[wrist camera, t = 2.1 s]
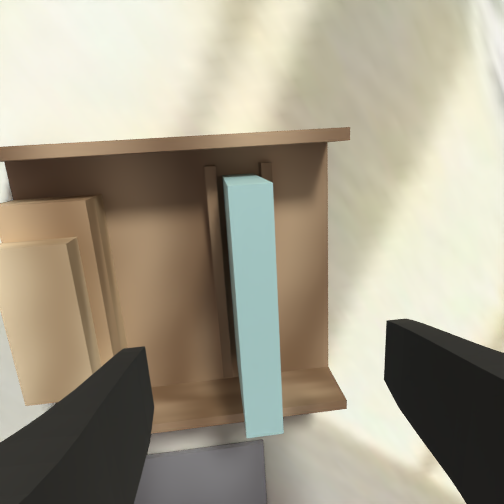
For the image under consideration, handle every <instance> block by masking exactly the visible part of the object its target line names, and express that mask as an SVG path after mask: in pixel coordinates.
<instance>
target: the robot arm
mask: <svg viewBox="0 0 504 504" xmlns="http://www.w3.org/2000/svg"><path fill="white" fill-rule="evenodd" d="M384 380H385V382H386V384H387V386H388V388H389V390H390V392H391V394H392V396H393V398H394V399H395V401H396V403H397V405H398V407H399V408H400V410H401V411H402V413H403V414H404V416H405V417H406V418H407V420H408V421H409V423H410V424H411V425H412V427H413V428H414V430H415V431H416V432H417V434H418V435H419V437H420V438H421V439H422V441H423V442H424V443H425V445H426V446H427V447H428V449H429V450H430V452H431V453H432V454H433V456H434V457H435V458H436V460H437V461H438V462H439V464H440V465H441V467H442V468H443V469H444V471H445V472H446V473H447V475H448V476H449V478H450V479H451V481H452V482H453V483H454V485H455V486H456V488H457V489H458V491H459V492H460V494H461V495H462V497H463V499H464V500H465V502H466V504H504V353H502V352H499V351H496V350H493V349H490V348H487V347H485V346H482V345H479V344H476V343H474V342H471V341H468V340H466V339H463V338H460V337H458V336H455V335H452V334H450V333H447V332H445V331H442V330H439V329H437V328H434V327H431V326H428V325H426V324H423V323H420V322H417V321H413V320H410V319H398V320H389V321H387V325H386V347H385V370H384ZM153 415H154V401H153V395H152V388H151V382H150V375H149V369H148V362H147V356H146V349H145V346H142V347H133V348H123V349H122V350H121V351H119V352H118V353H117V354H116V355H114V356H113V357H112V358H111V359H110V360H109V361H107V362H106V363H105V364H104V365H103V366H102V367H100V368H99V369H98V370H97V371H96V372H95V373H94V374H92V375H91V376H90V377H89V378H88V379H86V380H85V381H84V382H83V383H82V384H81V385H79V386H78V387H77V388H76V389H75V390H73V391H72V392H71V393H69V394H68V395H67V396H66V397H64V398H63V399H62V400H60V401H59V402H58V403H57V404H55V405H54V406H53V407H52V408H50V409H49V410H48V411H46V412H45V413H44V414H42V415H41V416H40V417H38V418H37V419H35V420H34V421H32V422H31V423H30V424H28V425H27V426H25V427H24V428H22V429H21V430H19V431H18V432H16V433H14V434H13V435H11V436H10V437H8V438H7V439H5V440H4V441H2V442H1V443H0V504H134V501H135V498H136V494H137V490H138V486H139V482H140V479H141V475H142V471H143V467H144V463H145V459H146V455H147V451H148V447H149V443H150V438H151V431H152V423H153Z"/></svg>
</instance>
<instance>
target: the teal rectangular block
mask: <svg viewBox="0 0 504 504" xmlns="http://www.w3.org/2000/svg"><path fill="white" fill-rule="evenodd" d="M222 180H223V193H224V205H225V218H226V231H227V243H228V256H229V269H230V281H231V294H232V307H233V319H234V332H235V344H236V357H237V365H238V373H239V381H240V389H241V397H242V405H243V413H244V421H245V429H246V437H247V438H253V437H261V436H268V435H276V434H283V433H284V431H283V408H282V385H281V361H280V338H279V314H278V291H277V268H276V244H275V221H274V198H273V183H272V182H270V181H268V180H266V179H264V178H262V177H259V176H257V175H255V174H253V173H250V174H235V175H222Z"/></svg>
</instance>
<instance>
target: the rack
mask: <svg viewBox="0 0 504 504" xmlns="http://www.w3.org/2000/svg"><path fill="white" fill-rule="evenodd" d="M345 140H350V127H344V128H327V129H309V130H291V131H273V132H256V133H238V134H220V135H203V136H185V137H167V138H149V139H132V140H114V141H96V142H79V143H61V144H43V145H25V146H8V147H0V162H5V167H6V171H7V175H8V179H9V184H10V188H11V192H12V197H13V200H12V201H8V202H4V203H0V238H1V242H2V243H1V244H0V311H1V315H2V318H3V322H4V326H5V330H6V334H7V337H8V341H9V345H10V349H11V352H12V356H13V360H14V364H15V368H16V371H17V375H18V379H19V383H20V386H21V390H22V394H23V398H24V402H25V405H26V406H29V405H38V404H46V403H55V402H57V403H58V402H59V401H60V400H62V399H63V398H64V397H66V396H67V395H68V394H69V393H71V392H72V391H73V390H75V389H76V388H77V387H78V386H79V385H81V384H82V383H83V382H84V381H85V380H86V379H88V378H89V377H90V376H91V375H92V374H94V373H95V372H96V371H97V370H98V369H99V368H100V367H102V366H103V365H104V364H105V363H106V362H107V361H109V360H110V359H111V358H112V357H113V356H114V355H116V354H117V353H118V352H119V351H121V350H122V349H123V348H133V347H142V346H145V349H146V356H147V362H148V369H149V375H150V382H151V388H152V395H153V401H154V415H153V423H152V431H151V434H152V433H160V432H168V431H175V430H183V429H191V428H199V427H207V426H215V425H222V424H230V423H238V422H245V421H244V413H243V405H242V397H241V389H240V381H239V373H238V365H237V357H236V344H235V332H234V319H233V307H232V294H231V281H230V269H229V256H228V243H227V231H226V218H225V205H224V193H223V180H222V175H235V174H250V173H253V174H255V175H257V176H259V177H262V178H264V179H266V180H268V181H270V182H272V183H273V198H274V221H275V244H276V268H277V291H278V314H279V338H280V361H281V385H282V408H283V417H285V416H293V415H301V414H309V413H316V412H324V411H332V410H340V409H347V400H346V398H345V396H344V395H343V393H342V391H341V389H340V387H339V385H338V384H337V382H336V380H335V378H334V376H333V375H332V373H331V371H330V369H329V367H328V176H327V142H335V141H345ZM57 403H56V404H57Z"/></svg>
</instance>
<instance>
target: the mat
mask: <svg viewBox="0 0 504 504" xmlns="http://www.w3.org/2000/svg"><path fill="white" fill-rule="evenodd" d="M134 504H267V495H266V479H265V463H264V446H263V440H257V441H249V442H242V443H234V444H227V445H219V446H212V447H204V448H196V449H189V450H181V451H174V452H166V453H159V454H151V455H146V459H145V463H144V467H143V471H142V475H141V479H140V482H139V486H138V490H137V494H136V498H135V501H134Z"/></svg>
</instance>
